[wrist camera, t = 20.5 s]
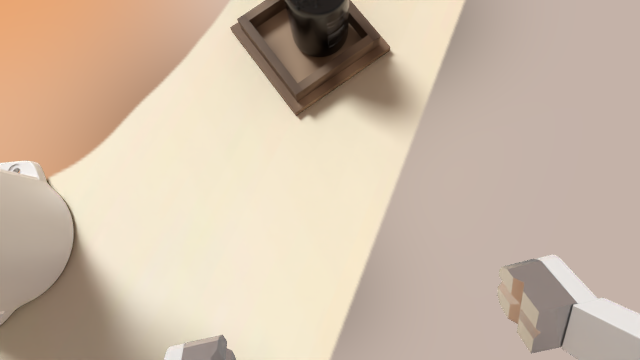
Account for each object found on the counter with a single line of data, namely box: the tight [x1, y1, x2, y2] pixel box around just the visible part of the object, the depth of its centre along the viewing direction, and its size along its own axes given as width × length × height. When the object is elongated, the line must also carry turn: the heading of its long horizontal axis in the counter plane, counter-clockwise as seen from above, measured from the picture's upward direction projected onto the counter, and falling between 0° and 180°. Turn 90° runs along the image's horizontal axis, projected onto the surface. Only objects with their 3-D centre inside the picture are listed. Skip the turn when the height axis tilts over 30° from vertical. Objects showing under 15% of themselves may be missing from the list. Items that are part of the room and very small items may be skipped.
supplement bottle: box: [284, 0, 349, 57], centre depth 41 cm, size 7×7×12 cm
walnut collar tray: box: [230, 0, 390, 115], centre depth 46 cm, size 14×14×3 cm
